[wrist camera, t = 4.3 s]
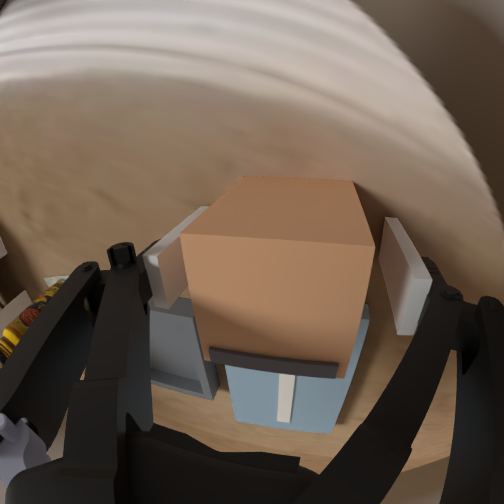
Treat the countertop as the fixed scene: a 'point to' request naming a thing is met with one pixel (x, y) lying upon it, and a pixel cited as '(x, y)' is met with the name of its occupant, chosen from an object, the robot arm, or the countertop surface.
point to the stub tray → (179, 352)
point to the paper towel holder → (12, 302)
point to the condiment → (27, 318)
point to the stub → (280, 275)
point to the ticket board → (292, 394)
